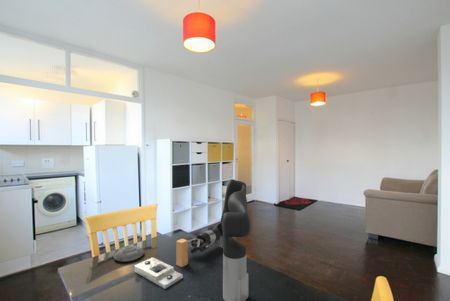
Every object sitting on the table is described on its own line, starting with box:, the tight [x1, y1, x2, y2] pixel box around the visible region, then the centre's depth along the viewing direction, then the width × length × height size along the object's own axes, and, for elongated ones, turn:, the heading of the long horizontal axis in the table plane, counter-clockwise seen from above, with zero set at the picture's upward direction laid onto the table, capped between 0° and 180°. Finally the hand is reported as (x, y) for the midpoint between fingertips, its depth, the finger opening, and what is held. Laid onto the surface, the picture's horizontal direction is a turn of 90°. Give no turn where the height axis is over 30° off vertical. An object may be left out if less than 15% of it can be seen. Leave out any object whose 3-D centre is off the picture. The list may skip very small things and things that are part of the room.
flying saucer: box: [113, 245, 145, 262], centre depth 122 cm, size 15×15×6 cm
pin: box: [175, 238, 189, 268], centre depth 113 cm, size 4×4×12 cm
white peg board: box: [134, 256, 184, 290], centre depth 104 cm, size 22×10×3 cm, turn 54°
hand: (185, 249), depth 115 cm, fingers open, 8 cm apart
